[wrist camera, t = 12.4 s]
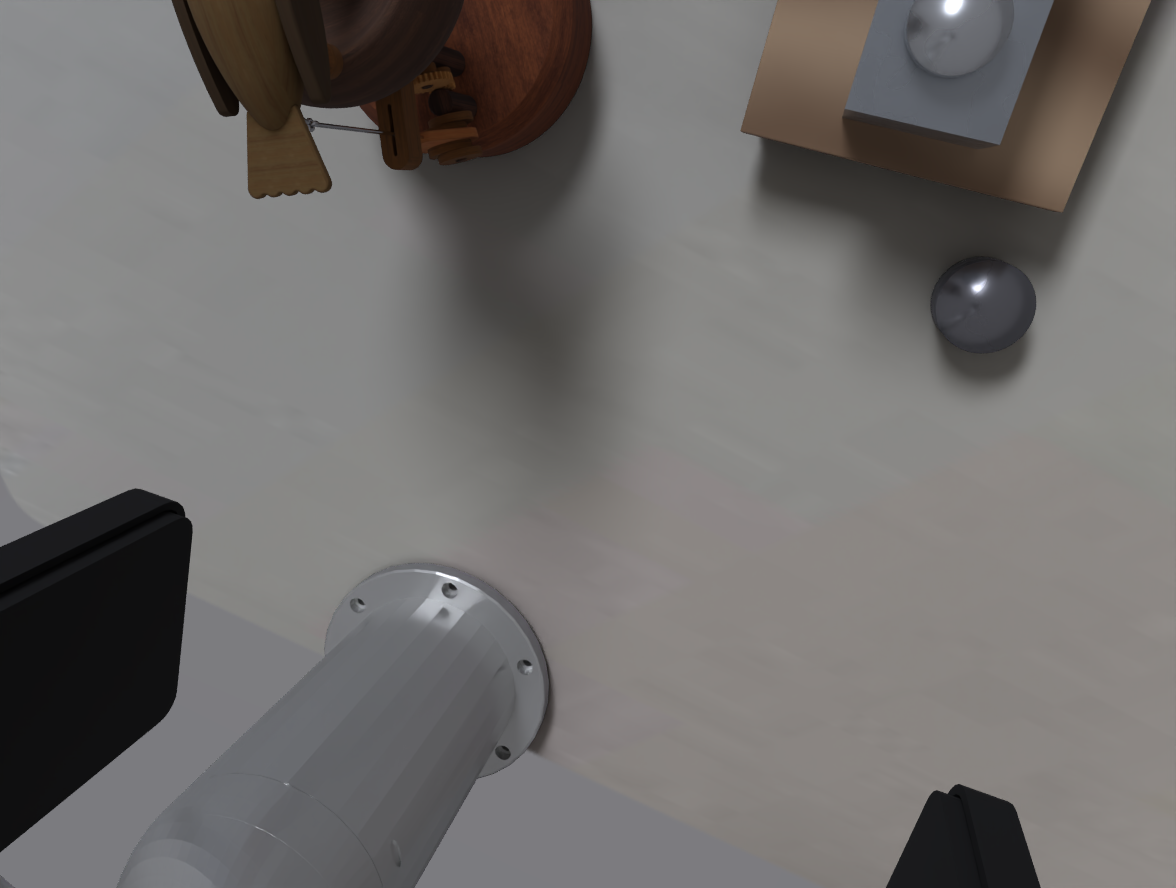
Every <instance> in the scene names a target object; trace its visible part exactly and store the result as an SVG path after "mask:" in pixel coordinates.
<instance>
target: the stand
mask: <svg viewBox="0 0 1176 888" xmlns="http://www.w3.org/2000/svg"><path fill="white" fill-rule="evenodd" d="M1150 2H1151V0H1054V1H1053V4H1052V7H1051V9H1050V12H1049V15H1048V17H1047V20H1046V23H1045V25H1044V28H1043V31H1042V33H1041V36H1040V39H1039V42H1038V44H1037V47H1036V50H1035V52H1034V55H1033V58H1032V60H1031V63H1030V66H1029V68H1028V71H1027V74H1026V76H1025V79H1024V82H1023V84H1022V87H1021V90H1020V92H1019V95H1018V98H1017V101H1016V103H1015V106H1014V109H1013V111H1012V114H1011V117H1010V119H1009V122H1008V125H1007V127H1006V130H1005V133H1004V135H1003V138H1002V141H1001V143H1000V145H997V146H992V147H988V148H983V149H979V150H978V149H974V148H970V147H966V146H961V145H957V144H953V143H949V142H944V141H940V140H936V139H932V138H927V137H923V136H919V135H915V134H910V133H906V132H902V131H897V130H893V129H889V128H885V127H880V126H876V125H872V124H868V123H863V122H859V121H855V120H851V119H846V118H842V115H843V112H844V109H845V106H846V102H847V99H848V96H849V93H850V89H851V86H852V83H853V80H854V77H855V73H856V70H857V67H858V64H859V61H860V57H861V54H862V51H863V48H864V45H865V41H866V38H867V35H868V32H869V28H870V25H871V22H872V19H873V16H874V12H875V9H876V6H877V3H878V0H778V1H777V5H776V8H775V12H774V15H773V19H772V22H771V26H770V29H769V33H768V36H767V40H766V43H765V47H764V50H763V54H762V57H761V61H760V64H759V68H758V71H757V75H756V78H755V82H754V85H753V89H752V92H751V96H750V99H749V103H748V106H747V110H746V113H745V117H744V120H743V124H742V127H741V132H743V133H746V134H750V135H754V136H758V137H762V138H766V139H770V140H774V141H778V142H782V143H786V144H790V145H794V146H798V147H802V148H806V149H810V150H814V151H817V152H821V153H825V154H829V155H833V156H837V157H841V158H845V159H849V160H853V161H857V162H861V163H865V164H869V165H873V166H877V167H881V168H884V169H888V170H892V171H896V172H900V173H904V174H908V175H912V176H916V177H920V178H924V179H928V180H932V181H936V182H940V183H944V184H948V185H952V186H955V187H959V188H963V189H967V190H971V191H975V192H979V193H983V194H987V195H991V196H995V197H999V198H1003V199H1007V200H1011V201H1015V202H1019V203H1022V204H1026V205H1030V206H1034V207H1038V208H1042V209H1046V210H1050V211H1054V212H1063V210H1064V208H1065V205H1066V203H1067V201H1068V198H1069V196H1070V193H1071V191H1072V189H1073V186H1074V184H1075V181H1076V179H1077V177H1078V174H1079V172H1080V169H1081V167H1082V165H1083V162H1084V160H1085V157H1086V155H1087V153H1088V150H1089V148H1090V146H1091V143H1092V141H1093V138H1094V136H1095V134H1096V131H1097V129H1098V126H1099V124H1100V122H1101V119H1102V117H1103V114H1104V112H1105V110H1106V107H1107V105H1108V102H1109V100H1110V98H1111V95H1112V93H1113V90H1114V88H1115V86H1116V83H1117V81H1118V78H1119V76H1120V74H1121V71H1122V69H1123V67H1124V64H1125V62H1126V59H1127V57H1128V55H1129V52H1130V50H1131V47H1132V45H1133V43H1134V40H1135V38H1136V35H1137V33H1138V31H1139V28H1140V26H1141V23H1142V21H1143V19H1144V16H1145V14H1146V11H1147V9H1148V7H1149V4H1150Z"/></svg>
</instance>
